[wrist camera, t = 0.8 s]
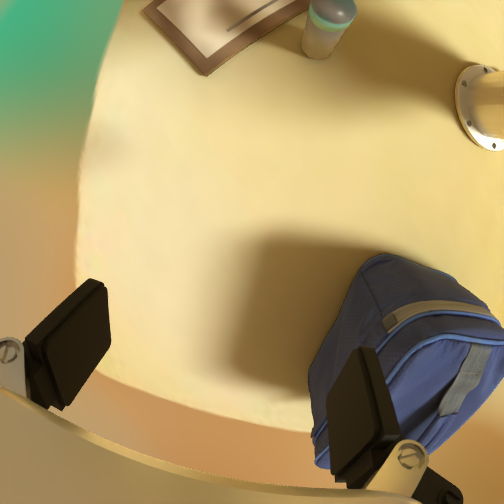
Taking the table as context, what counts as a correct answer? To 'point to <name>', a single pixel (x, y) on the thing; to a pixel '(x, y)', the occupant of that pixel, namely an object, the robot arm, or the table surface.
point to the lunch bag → (412, 349)
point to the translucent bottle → (326, 26)
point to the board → (220, 25)
